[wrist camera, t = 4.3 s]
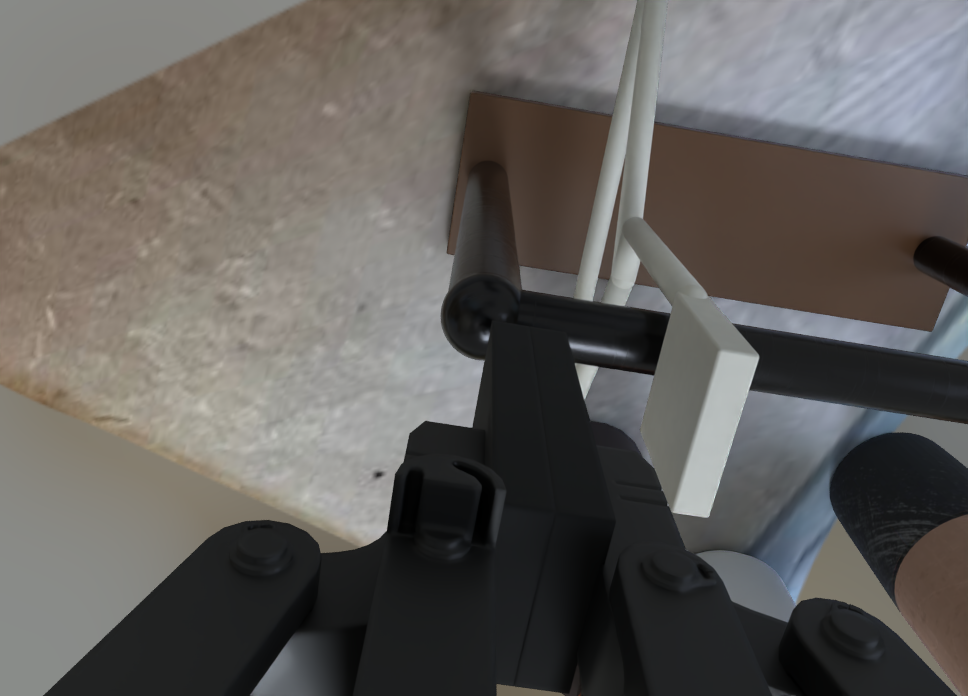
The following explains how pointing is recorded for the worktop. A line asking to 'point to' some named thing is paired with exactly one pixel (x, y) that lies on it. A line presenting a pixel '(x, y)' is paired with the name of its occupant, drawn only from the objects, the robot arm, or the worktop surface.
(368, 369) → the worktop surface
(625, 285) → the hanger
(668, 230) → the rail
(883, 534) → the travel mug
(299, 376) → the worktop surface
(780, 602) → the alcohol
